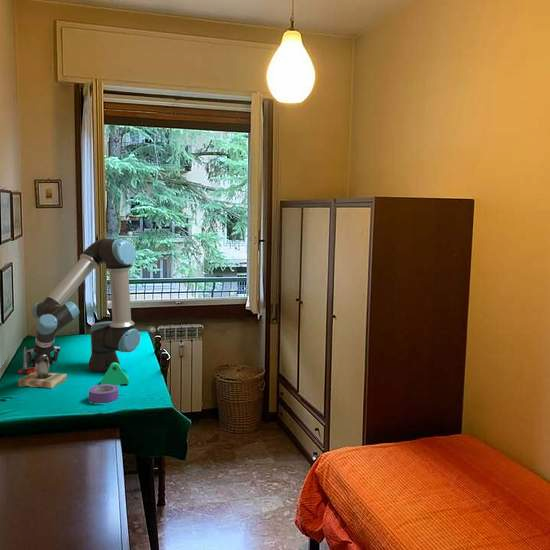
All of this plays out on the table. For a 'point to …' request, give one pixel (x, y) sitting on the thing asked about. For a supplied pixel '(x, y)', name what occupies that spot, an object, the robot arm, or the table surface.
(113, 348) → the robot arm
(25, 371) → the tow hook
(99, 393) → the tape roll
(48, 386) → the jig
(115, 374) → the green triangle
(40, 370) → the domed cap cylinder
